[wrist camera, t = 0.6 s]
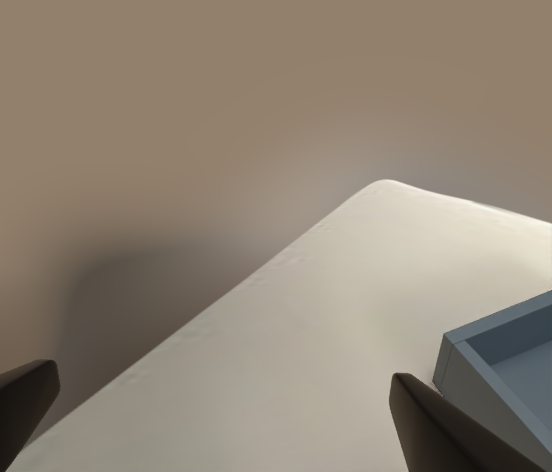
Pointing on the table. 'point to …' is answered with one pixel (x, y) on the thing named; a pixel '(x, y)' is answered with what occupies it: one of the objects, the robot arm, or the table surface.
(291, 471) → the table surface
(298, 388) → the table surface
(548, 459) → the bin
